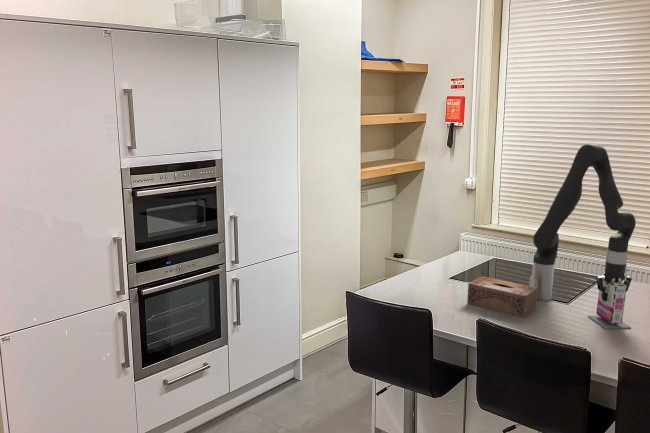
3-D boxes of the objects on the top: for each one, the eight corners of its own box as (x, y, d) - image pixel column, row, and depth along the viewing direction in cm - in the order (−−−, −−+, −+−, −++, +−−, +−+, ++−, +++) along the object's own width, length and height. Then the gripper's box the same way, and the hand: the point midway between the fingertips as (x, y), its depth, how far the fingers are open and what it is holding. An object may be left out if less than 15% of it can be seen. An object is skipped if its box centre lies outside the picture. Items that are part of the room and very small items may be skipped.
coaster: (604, 328, 223) (604, 327, 223) (587, 316, 235) (587, 315, 235) (630, 328, 223) (631, 327, 223) (612, 316, 236) (613, 315, 236)
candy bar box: (622, 323, 224) (627, 285, 221) (611, 324, 223) (615, 285, 220) (606, 313, 235) (611, 276, 232) (595, 313, 234) (599, 276, 231)
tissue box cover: (467, 304, 249) (468, 283, 247) (480, 296, 260) (481, 276, 258) (523, 318, 233) (525, 296, 231) (535, 309, 244) (537, 287, 242)
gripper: (604, 263, 220) (599, 304, 223) (638, 263, 221) (633, 304, 224) (594, 258, 228) (589, 297, 231) (627, 258, 228) (622, 297, 232)
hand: (611, 300), depth 228 cm, fingers closed on candy bar box, 5 cm apart
